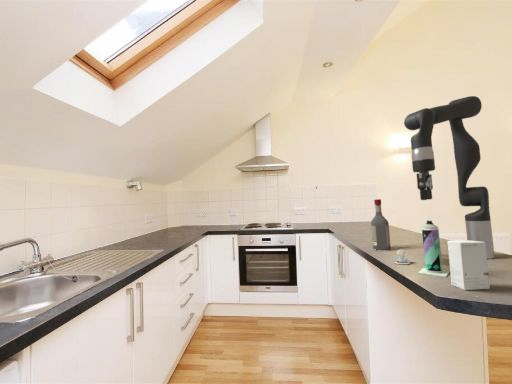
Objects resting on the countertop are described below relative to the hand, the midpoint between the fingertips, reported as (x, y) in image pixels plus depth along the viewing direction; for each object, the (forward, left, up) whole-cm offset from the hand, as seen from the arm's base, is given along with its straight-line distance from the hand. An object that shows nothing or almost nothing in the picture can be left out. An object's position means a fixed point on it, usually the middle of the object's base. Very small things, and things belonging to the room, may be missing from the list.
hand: (426, 199), depth 101 cm
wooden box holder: (-10, +2, -29) cm, 31 cm away
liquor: (-41, -33, -29) cm, 60 cm away
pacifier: (-10, -14, -29) cm, 34 cm away
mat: (0, 0, -29) cm, 29 cm away
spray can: (0, 0, -29) cm, 29 cm away
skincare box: (+13, +12, -29) cm, 34 cm away
